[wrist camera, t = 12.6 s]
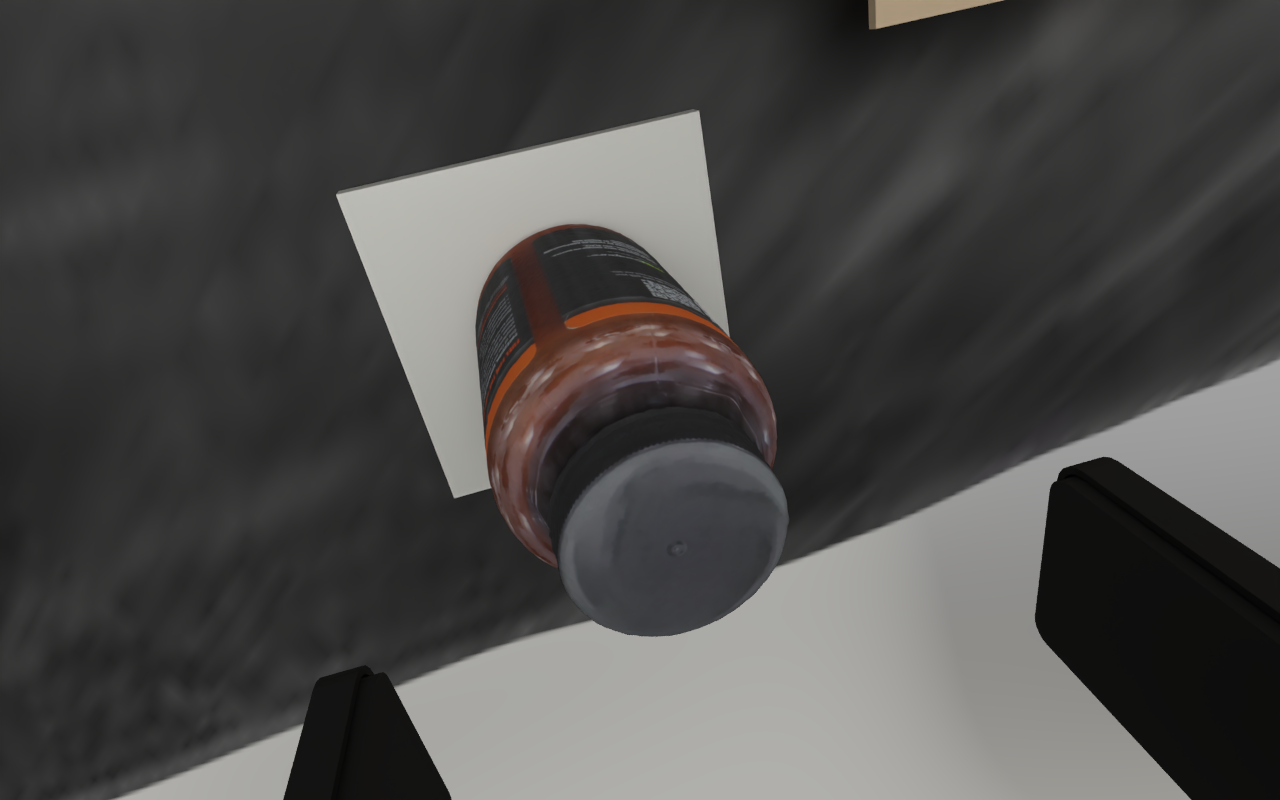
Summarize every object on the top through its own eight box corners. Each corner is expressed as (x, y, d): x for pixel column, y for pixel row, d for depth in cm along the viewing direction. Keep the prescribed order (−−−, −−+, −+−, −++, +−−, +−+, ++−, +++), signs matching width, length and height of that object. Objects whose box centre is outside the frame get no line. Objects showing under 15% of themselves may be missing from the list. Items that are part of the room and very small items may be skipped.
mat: (692, 109, 20) (699, 110, 19) (734, 409, 25) (740, 417, 24) (339, 190, 19) (336, 194, 18) (454, 488, 24) (454, 498, 23)
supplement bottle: (496, 421, 22) (524, 720, 12) (453, 235, 19) (445, 430, 10) (677, 385, 23) (839, 637, 13) (662, 203, 20) (851, 350, 10)
